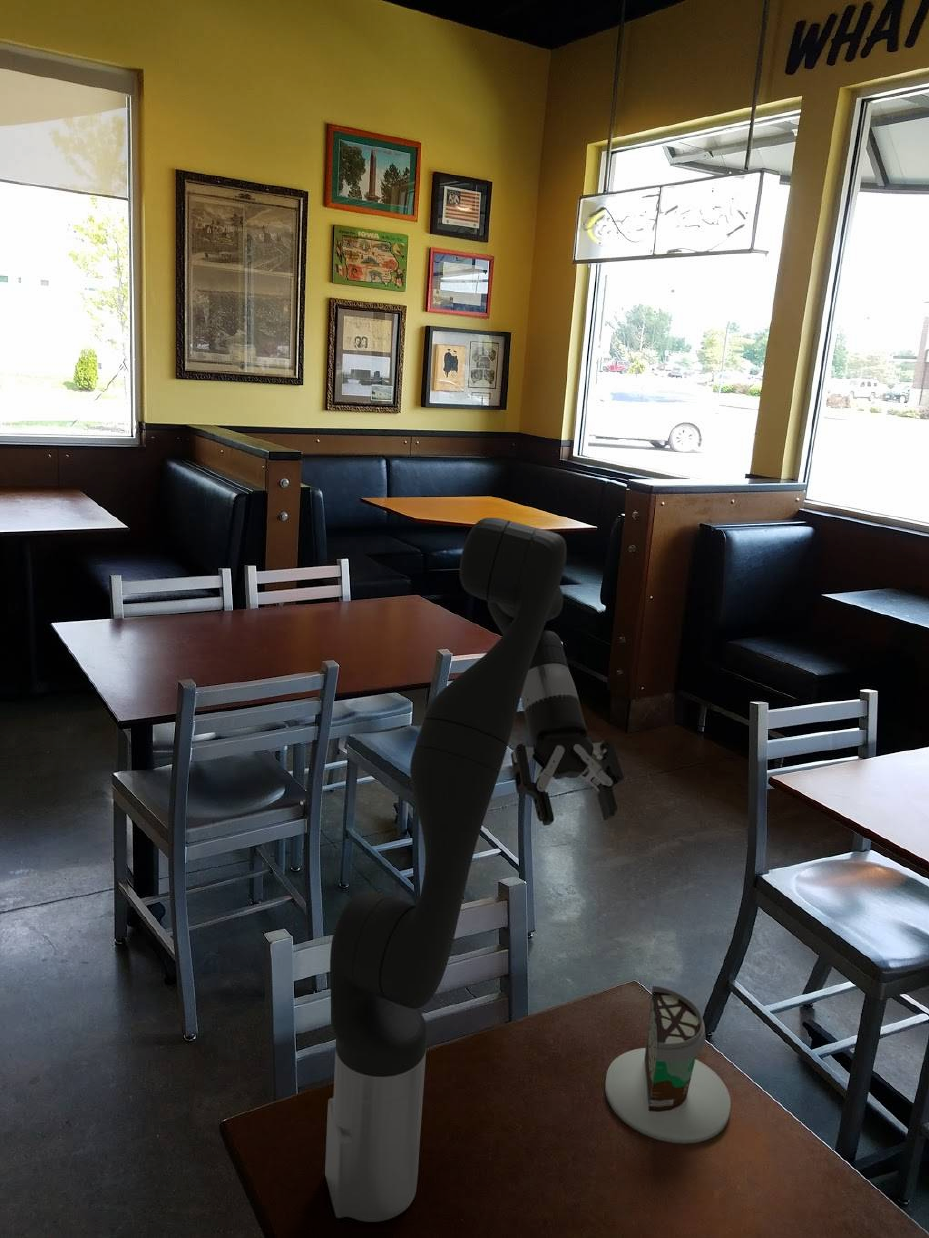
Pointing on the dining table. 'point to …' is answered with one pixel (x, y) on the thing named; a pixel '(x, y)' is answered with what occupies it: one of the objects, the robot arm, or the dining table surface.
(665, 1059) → the food container
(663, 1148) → the dining table surface
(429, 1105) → the dining table surface
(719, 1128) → the serving plate
